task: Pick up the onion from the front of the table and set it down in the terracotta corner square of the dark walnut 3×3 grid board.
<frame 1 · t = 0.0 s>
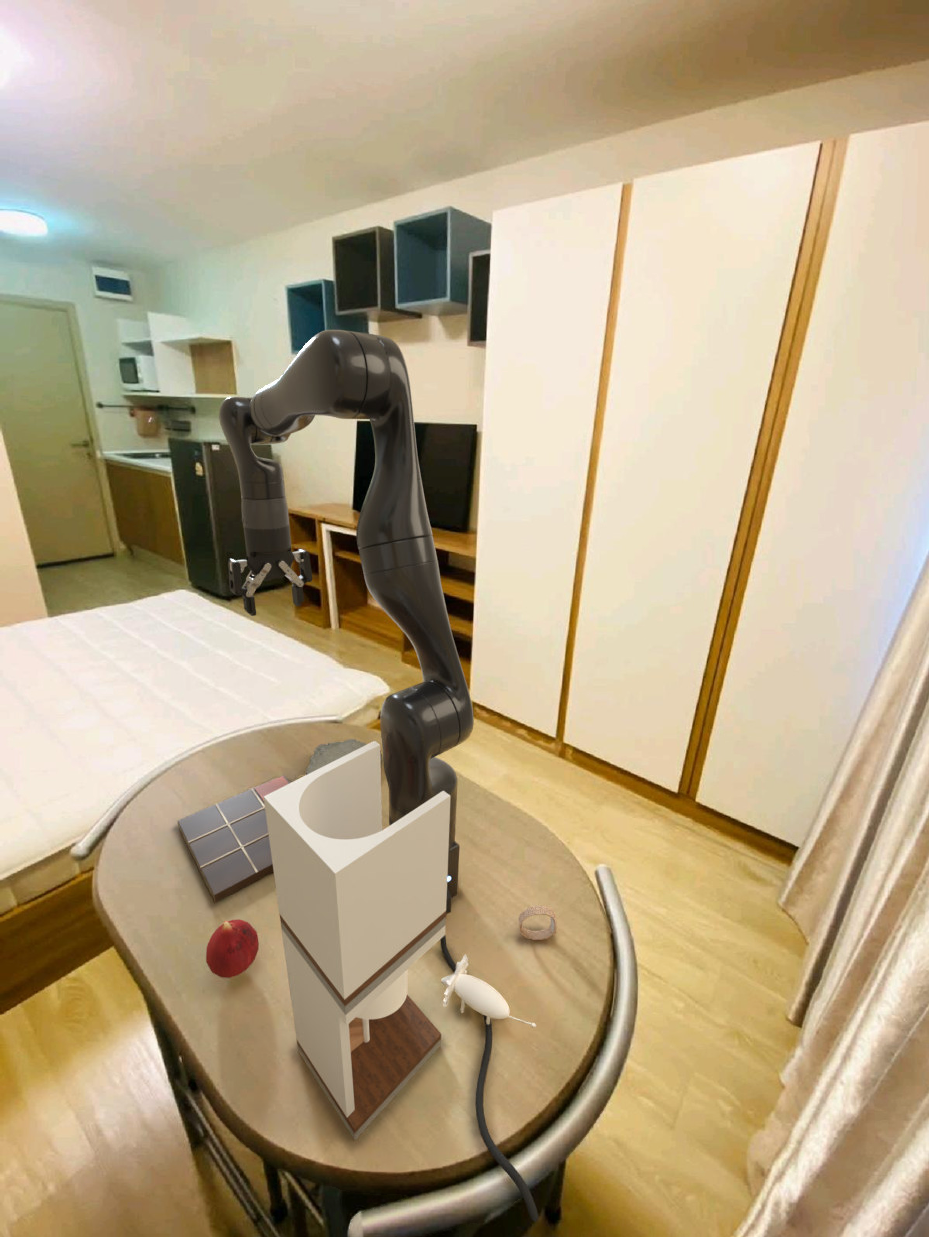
hand: (275, 609, 96), 29 cm above the table, tool pointing down, fingers open, 8 cm apart
rock: (346, 773, 99), on the table
grid board: (254, 833, 84), on the table
white wooden tower stand: (370, 1048, 57), on the table
onion: (236, 969, 64), on the table
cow: (486, 1017, 61), on the table
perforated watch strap: (534, 936, 70), on the table
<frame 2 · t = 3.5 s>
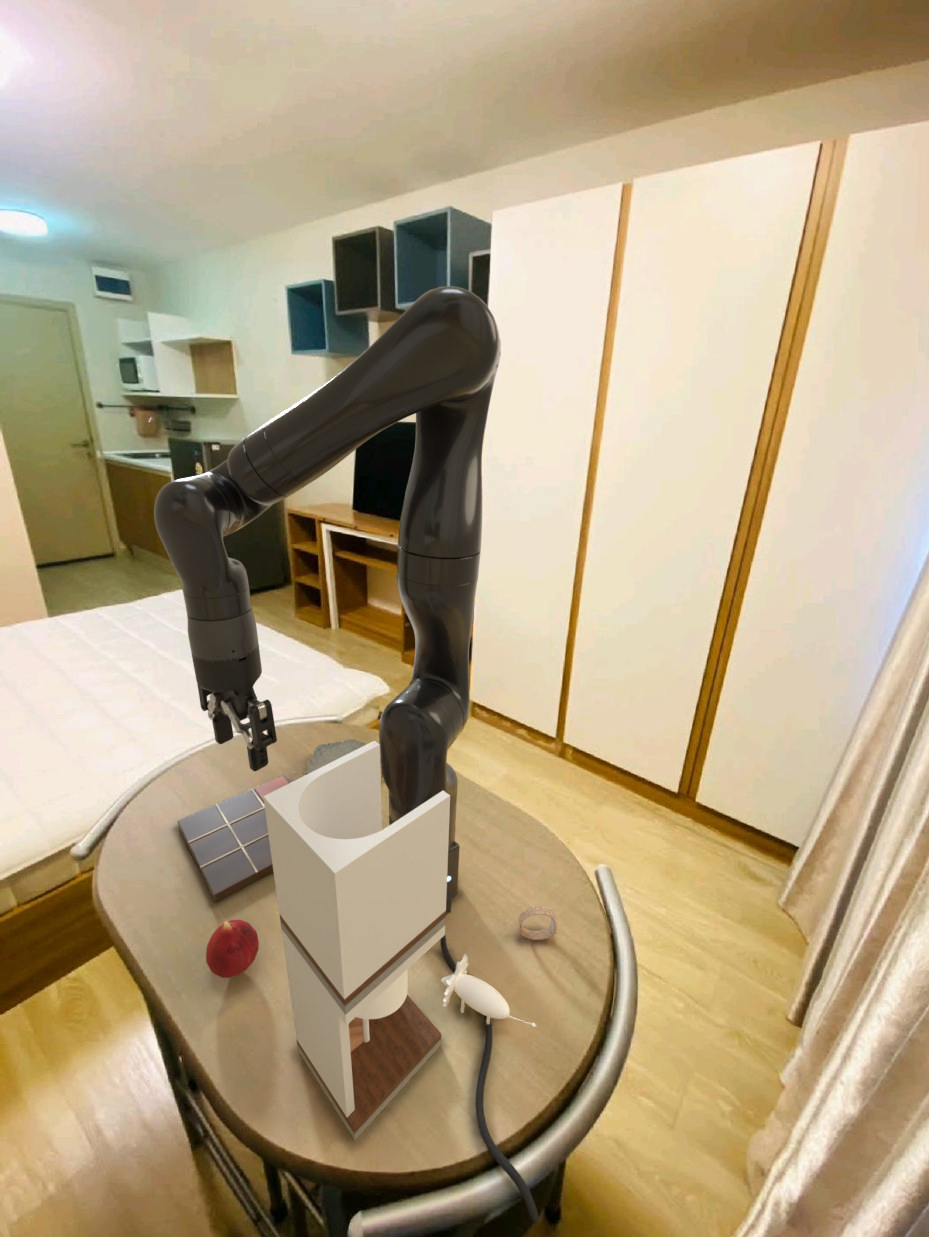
hand: (241, 753, 69), 21 cm above the table, tool pointing down, fingers open, 8 cm apart
nothing on the table moved.
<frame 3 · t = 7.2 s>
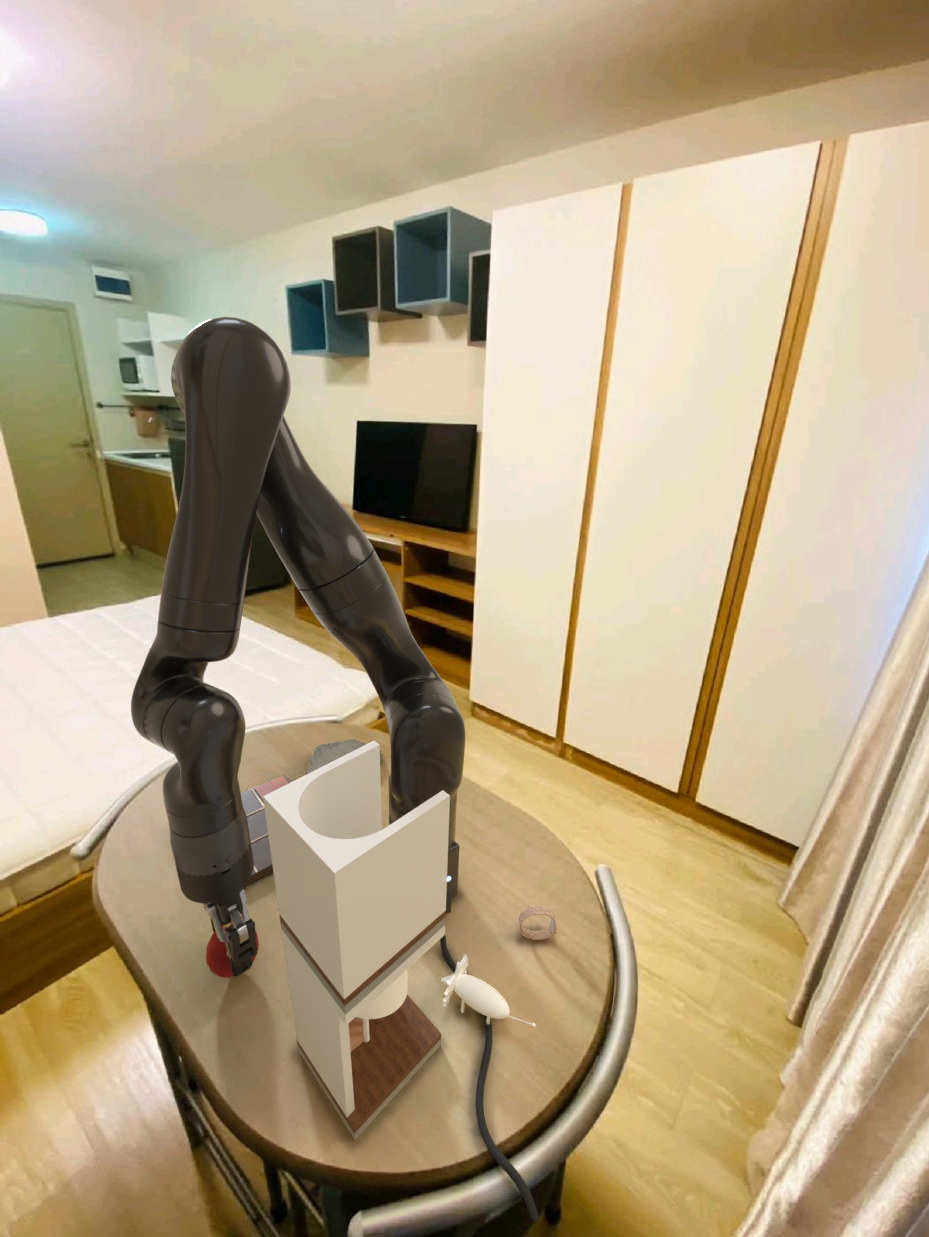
hand: (232, 948, 63), 4 cm above the table, tool pointing down, fingers closed on onion, 6 cm apart
onion: (236, 969, 64), on the table, touching gripper
everything else where it was.
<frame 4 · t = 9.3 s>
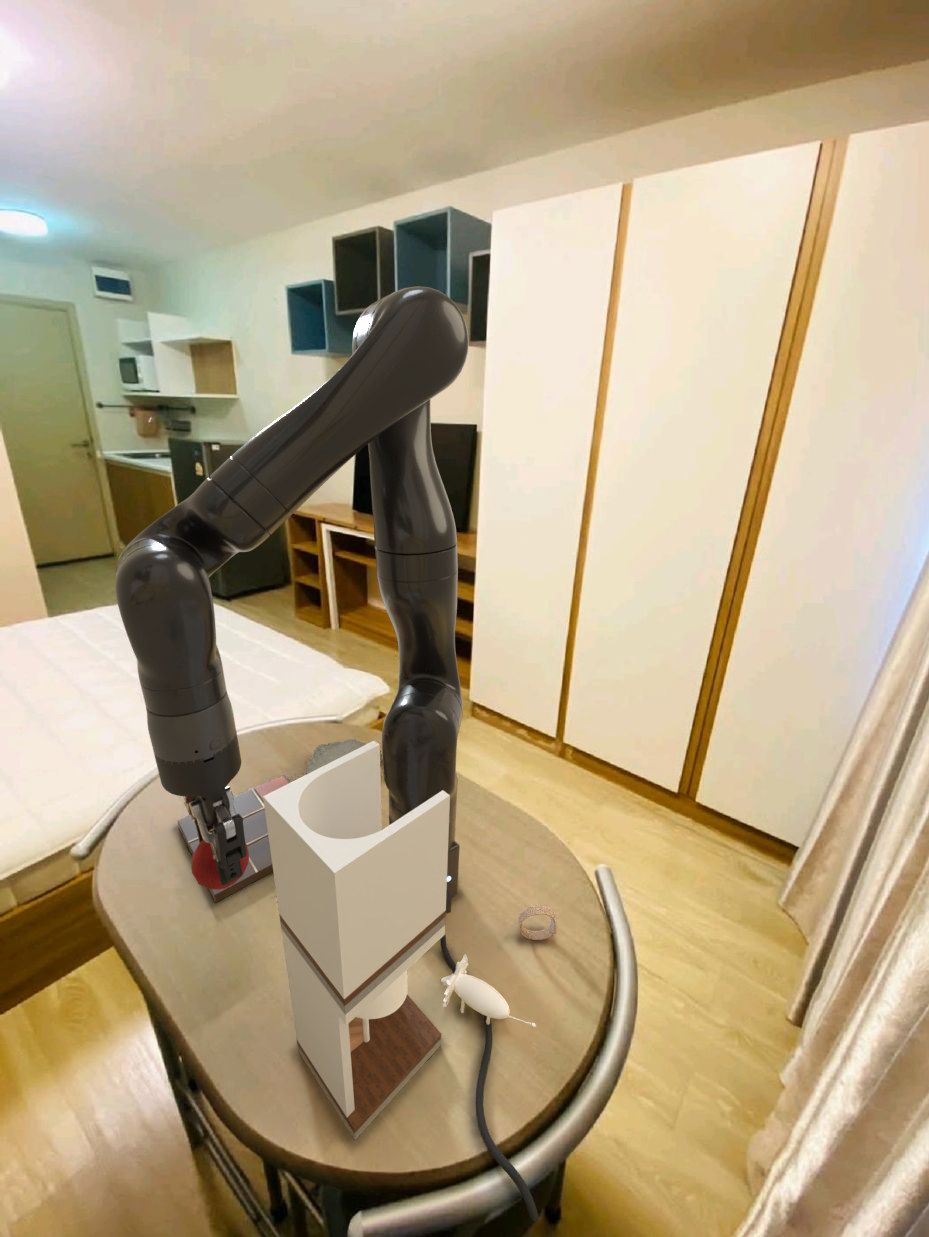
hand: (220, 860, 58), 17 cm above the table, tool pointing down, fingers closed on onion, 6 cm apart
onion: (226, 884, 60), point 13 cm above the table, touching gripper
everything else where it was.
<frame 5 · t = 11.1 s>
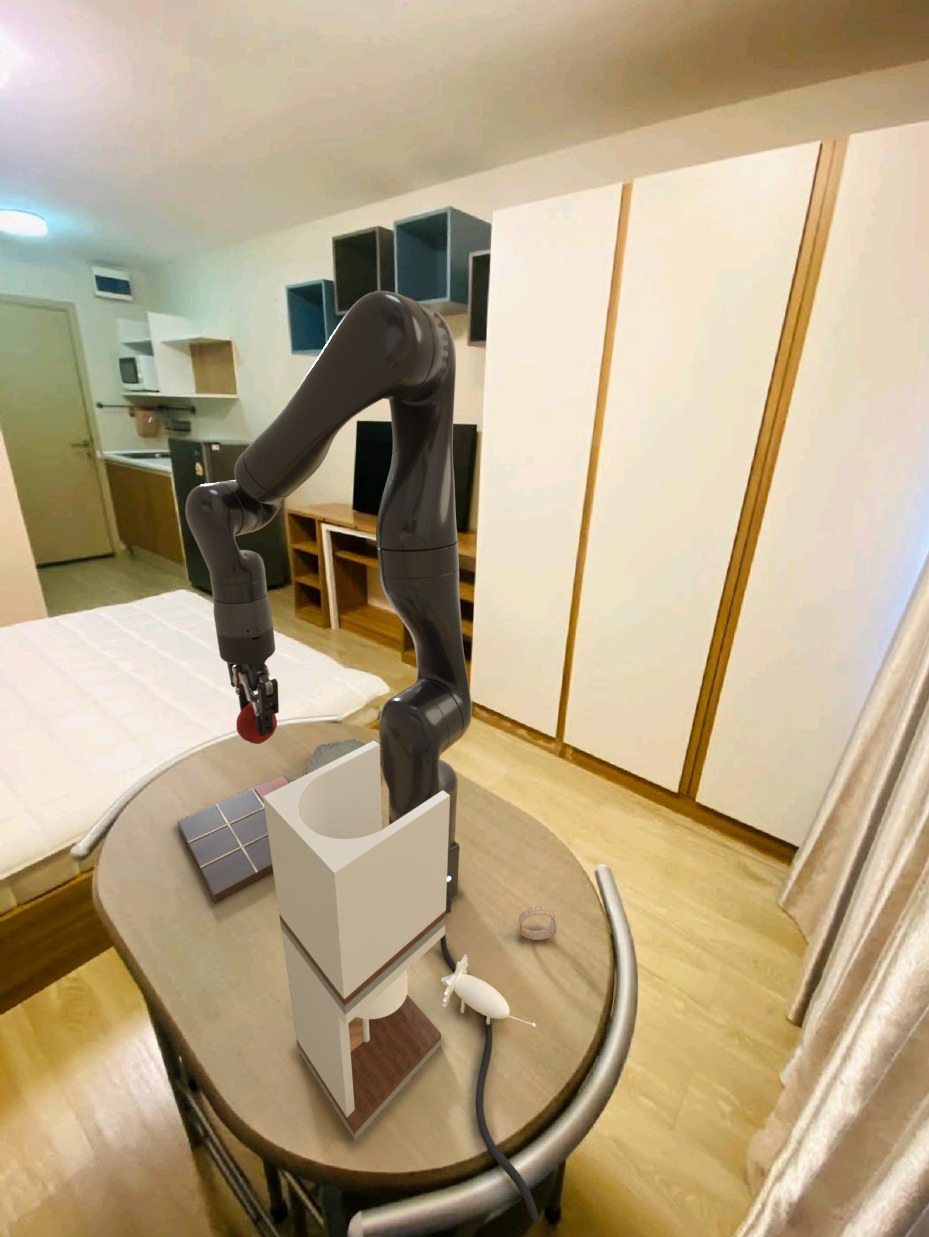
hand: (257, 723, 81), 19 cm above the table, tool pointing down, fingers closed on onion, 6 cm apart
onion: (259, 743, 82), point 15 cm above the table, touching gripper
everything else where it was.
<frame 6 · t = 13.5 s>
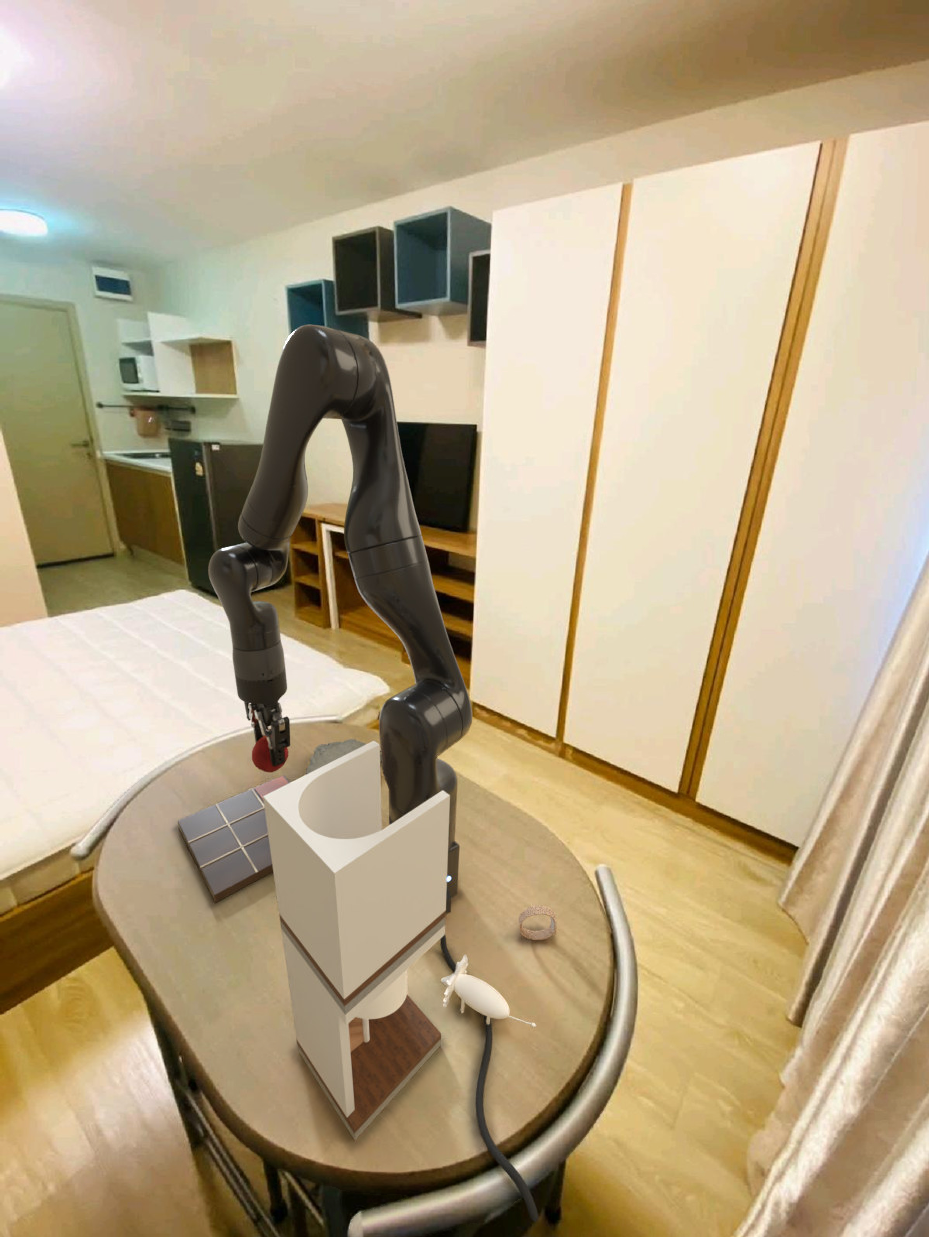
hand: (270, 754, 89), 9 cm above the table, tool pointing down, fingers closed on onion, 6 cm apart
onion: (272, 772, 90), point 6 cm above the table, touching gripper
everything else where it was.
when the fingers open (5 cm above the table, at t = 15.1 s): onion stays where it is, resting on grid board.
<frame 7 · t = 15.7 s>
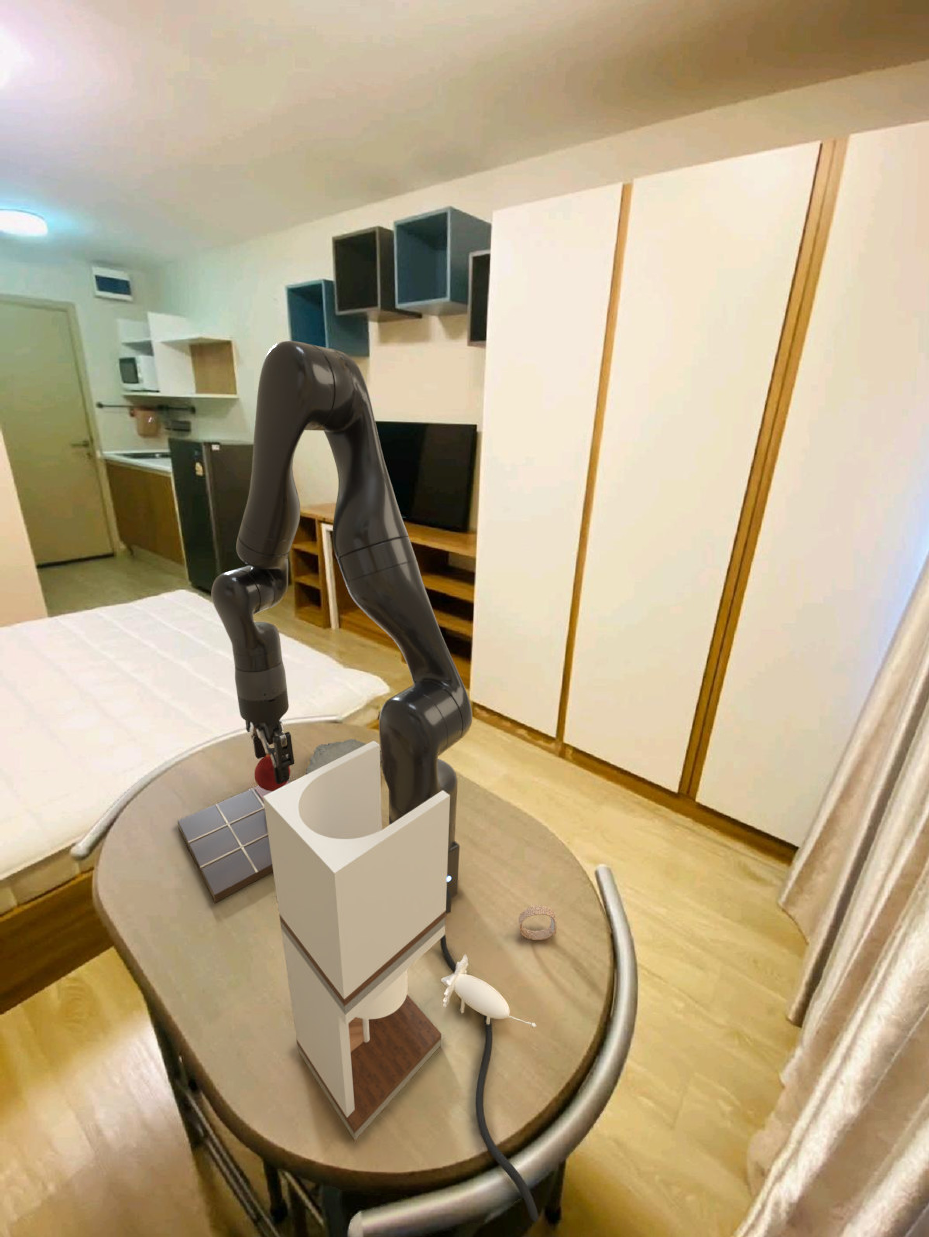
hand: (272, 768, 90), 6 cm above the table, tool pointing down, fingers open, 8 cm apart
onion: (274, 790, 91), point 2 cm above the table, touching grid board
everything else where it was.
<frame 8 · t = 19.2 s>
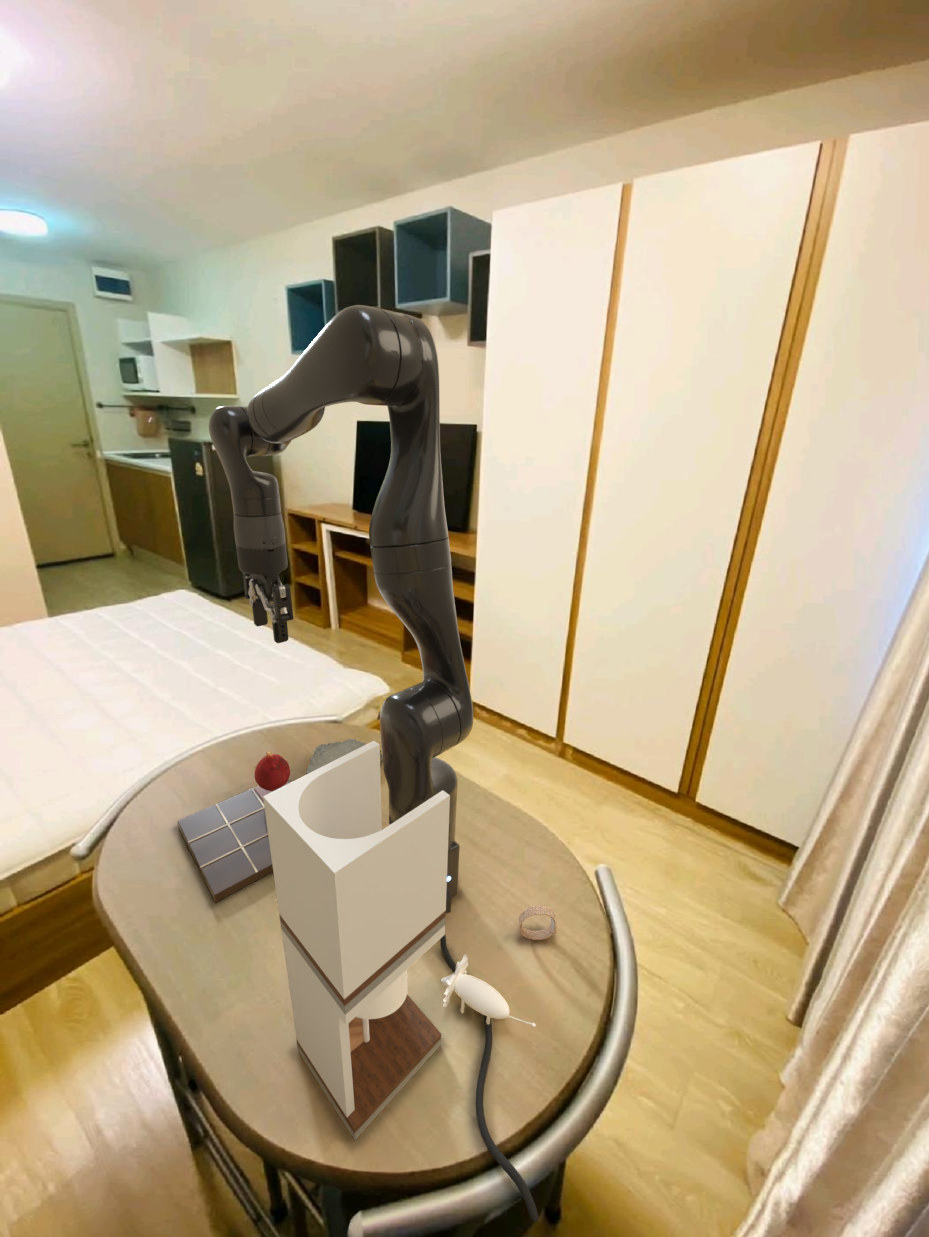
hand: (271, 633, 89), 28 cm above the table, tool pointing down, fingers open, 8 cm apart
nothing on the table moved.
at the end: onion 0.0 cm from the target spot on the grid board, point 1.5 cm above the grid board's base; the gripper is holding nothing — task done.
